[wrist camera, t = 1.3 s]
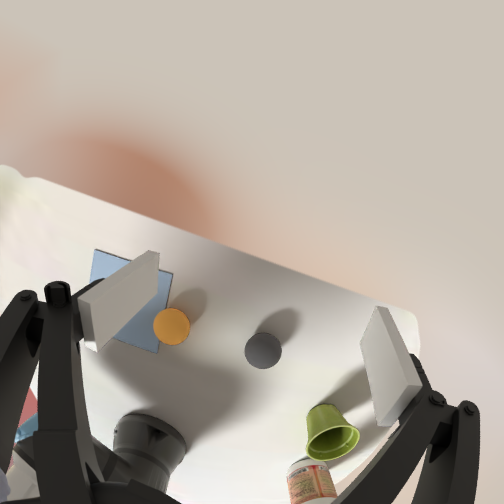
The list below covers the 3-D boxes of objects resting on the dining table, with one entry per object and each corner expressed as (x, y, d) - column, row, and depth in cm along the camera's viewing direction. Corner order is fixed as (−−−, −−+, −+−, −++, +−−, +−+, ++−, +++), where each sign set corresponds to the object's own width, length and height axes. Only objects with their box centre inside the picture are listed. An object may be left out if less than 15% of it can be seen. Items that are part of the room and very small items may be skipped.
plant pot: (353, 413, 45) (367, 441, 37) (313, 438, 46) (322, 467, 37) (331, 388, 44) (346, 416, 36) (288, 414, 45) (295, 446, 36)
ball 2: (283, 352, 43) (287, 369, 37) (250, 361, 43) (251, 379, 37) (274, 323, 42) (278, 337, 37) (240, 332, 42) (239, 348, 37)
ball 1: (197, 331, 42) (191, 347, 37) (166, 339, 42) (157, 354, 37) (185, 299, 41) (177, 311, 36) (154, 308, 41) (142, 320, 36)
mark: (172, 274, 41) (172, 274, 41) (157, 353, 42) (156, 353, 42) (95, 249, 40) (94, 249, 40) (86, 325, 42) (85, 326, 41)
